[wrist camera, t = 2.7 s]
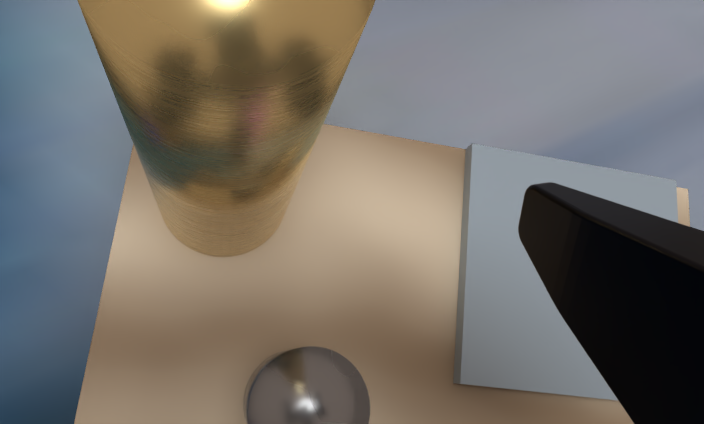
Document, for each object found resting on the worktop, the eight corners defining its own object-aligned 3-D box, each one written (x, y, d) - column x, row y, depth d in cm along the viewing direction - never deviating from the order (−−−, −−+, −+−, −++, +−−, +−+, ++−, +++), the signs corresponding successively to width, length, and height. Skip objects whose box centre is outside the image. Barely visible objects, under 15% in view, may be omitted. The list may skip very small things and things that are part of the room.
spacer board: (689, 664, 19) (714, 680, 19) (33, 651, 16) (21, 669, 15) (669, 196, 24) (687, 189, 23) (148, 104, 20) (144, 91, 19)
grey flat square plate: (674, 406, 20) (687, 407, 20) (453, 383, 19) (460, 383, 19) (664, 185, 23) (676, 180, 22) (465, 149, 21) (472, 143, 21)
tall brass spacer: (278, 265, 19) (367, 111, 7) (147, 247, 18) (23, 48, 7) (294, 146, 20) (393, -145, 9) (171, 125, 19) (99, -222, 8)
